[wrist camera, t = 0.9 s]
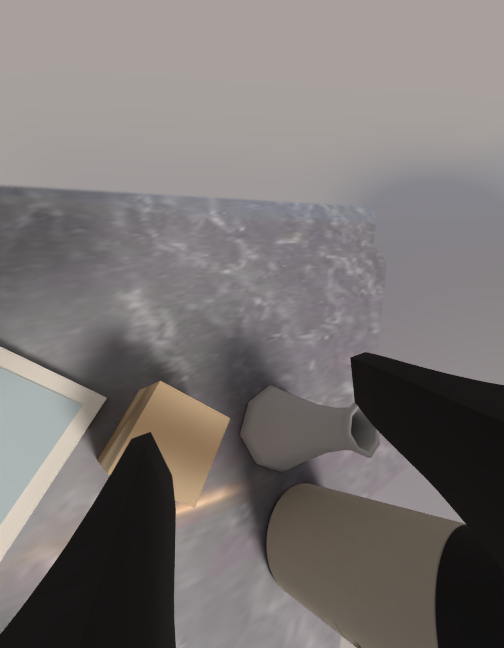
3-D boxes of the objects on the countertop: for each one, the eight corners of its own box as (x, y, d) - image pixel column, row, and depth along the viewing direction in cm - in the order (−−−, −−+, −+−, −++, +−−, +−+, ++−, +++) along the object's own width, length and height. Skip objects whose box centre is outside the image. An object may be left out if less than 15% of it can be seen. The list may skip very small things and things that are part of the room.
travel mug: (291, 464, 26) (574, 518, 11) (344, 513, 27) (651, 616, 13) (246, 560, 21) (620, 853, 7) (312, 613, 23) (729, 942, 8)
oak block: (164, 486, 20) (194, 507, 15) (97, 460, 18) (107, 473, 13) (195, 419, 22) (230, 418, 18) (138, 390, 21) (160, 380, 16)
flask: (224, 437, 23) (307, 445, 15) (265, 371, 27) (348, 351, 19) (282, 487, 25) (385, 519, 17) (313, 418, 29) (407, 417, 21)
